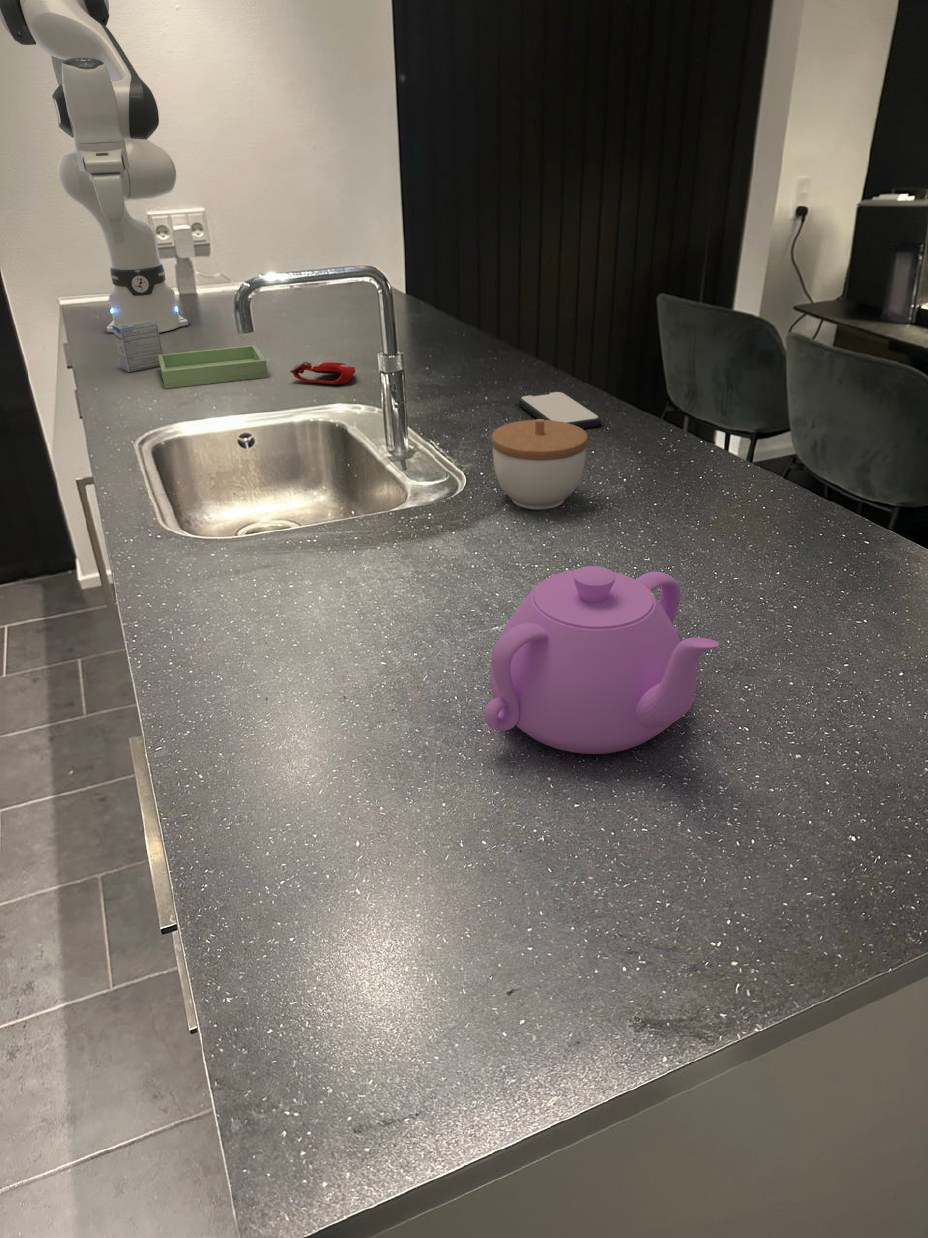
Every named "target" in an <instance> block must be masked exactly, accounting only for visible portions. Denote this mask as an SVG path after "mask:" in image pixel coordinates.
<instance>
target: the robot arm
mask: <svg viewBox="0 0 928 1238" xmlns="http://www.w3.org/2000/svg"><path fill="white" fill-rule="evenodd" d="M109 12H110V2H109V0H0V21H1V23H2V25H3V26H4V28H5V30H6V32H7V33H9V35H10V36H11V37H12V38H13V40H14V41H15V42H17V44H19V45H21V46H36V45H38V47H40V48H41V49H42V51H44V52H45V53H47V54H48V55H50V59H51V64H52V68H53V72H54V75H55V79H56V81H57V82H56V83H57V85H58V86H57V87H56V88H55V90H54V92H53V94H52V95H51V97H52V101H53V104H54V107H55V110H56V116H57V121H58V122H57V123H58V128H60V130H62V131H63V132H64V133H65V134H66V135H68V136H69V137H70V138H72V139H73V143H74V148H75V150H71V151H68V152H65V153H63V154H62V156H61V157H60V158H59V162H58V166H57V178H58V181H59V184H60V186H61V188H62V190H63V191H64V193H65V194H66V195H67V196H68V197H69V198H70V200H72V201H74V202H76V203H77V204H79V205H80V206H81V207H83V208H84V209H85V210H86V211H87V212H88V213H90V215H91V216H92V217H93V219H94V220H95V221H96V223H97V225H98V227H99V229H100V230H101V233H102V235H103V238H104V242H105V245H106V249H107V253H108V257H109V262H110V269H109V270H110V271H109V272H110V279H111V283H112V284H113V285H114V286H113V289H112V291H111V292H110V293H109V295H108V304H109V308H110V310H109V311H110V314H111V317H112V321H111V322H110V323H109V324H108V325H107V327H106V332H107V333H113V328H112V327H113V326H116V325H121V324H127V323H133V322H139V321H145V320H149V321H152V322H154V323H156V324H158V329H159V333H163V332H168V331H173V330H175V329H178V328H181V327H185V326H189V321H188V319H186V318H184V317H183V316H181V315H180V313H179V307H178V304H177V299H176V293H175V290H174V289H172V287H171V286H169V285H168V284H167V282H166V271H165V269H164V265H163V264H162V262H161V258H160V252H159V246H158V241H157V235H156V232H155V230H154V229H153V227H152V226H151V225H150V224H149V223H147V222H146V221H144V220H142V219H140V218H137V217H135V216H133V215H131V214H130V212H129V211H128V209H127V206H126V202H131V201H132V202H133V201H143V200H153V199H157V198H159V197H162V196H165V195H168V194H170V193H172V192H173V190H174V189H175V187H176V184H177V183H176V182H177V169H176V166H175V163H174V161H173V158H172V157H171V156H170V154H169V153H168V152H167V151H166V150H165V149H164V148H162V147H160V146H158V145H156V144H155V143H153V142H152V141H151V140H149V138H150V137H152V135H153V134H154V132H155V131H156V130H157V129H158V127H159V125H160V116H159V115H160V114H159V108H158V107H159V106H158V104H157V100H156V98H155V96H154V93H153V92H152V90H151V88H150V87H149V86H148V85H147V84H146V83H145V82H144V81H143V79H142V78H141V77H140V76H139V74H138V73H137V70H136V69H135V68H134V66H133V65H132V62H131V61H130V60H129V58H128V57H127V55H126V53H125V52H124V50H123V49H122V47H121V45H120V44H119V42H118V41H117V39H116V38H115V36H114V34H113V33H112V32H111V31H110V29H109V28H108V27H107V25H108V22H109V19H110V13H109Z"/></svg>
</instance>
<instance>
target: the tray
mask: <svg viewBox="0 0 928 1238" xmlns="http://www.w3.org/2000/svg"><path fill="white" fill-rule="evenodd" d="M158 359H159V365H160V366H159V370H160V374H161V378H162V381H163V385H164V389H173V388H175V389H176V388H182V387H192V386H202V385H209V384H210V385H211V384H218V383H219V384H220V383H229V382H236V381H245V380H255V379H263V378H269V377H268V376H269V375H268V369H267V368H268V367H267V361H266V359H265V357H264V356H263V354H262V353H261V351H260V350H259V349H258V346H257V345H255V344H252V345H243V346H232V347H223V348H222V347H221V348H212V349H201V350H193V351H191V350H190V351H182V352H173V353H163V354H161V355H158Z"/></svg>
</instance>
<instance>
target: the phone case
mask: <svg viewBox="0 0 928 1238" xmlns="http://www.w3.org/2000/svg"><path fill="white" fill-rule="evenodd" d="M518 405H519V406H520V407H521V408H522V409H524V410H525V411H526V412H528V413H529V414H530V415H532V416H533V417H535V418H536V419H543V420H552V421H560V422H565V423H569V424H573V425H575V426H578V427H580V428H582V429H583V430H584V429H589V428H595V427H599V426H600V425H601V417H600V416H599V415H598V414H596V413H595V412H593V411H592V410H590V409H589V408H587V407H586V406H584V405H583V404H581V403H580V402H578V401H576V400H575V399H574V398H572V397H571V396H569V395H567V394H566V393H565V392H562V391H551V392H545V393H537V394H530V395H522V396H520V397H519V398H518Z"/></svg>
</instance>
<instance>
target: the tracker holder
mask: <svg viewBox="0 0 928 1238" xmlns="http://www.w3.org/2000/svg"><path fill="white" fill-rule="evenodd" d="M305 371H309V372H313V373H316V374H324V375H339V377H338V378H337V379H335V380H320V379H310V378H306V377H303V376H301V375H300V374H304V373H305ZM289 373H290V374H292V375H293V377H294V378H296V379H297V380H300V381H303V382H306V383H314V384H325V385H345V384H347V383H349V382H350V381H351V379H352V378H353V376H354V374H355V373H356V367H354V366H349V365H348V364H346V363H344V362H339V361H326V362H322V363H320V364H319V365H314V366H312V362H311V361H307V360H304V361H302V362H300V363H298V364H296V365H295V366H294V367H292V368H291V369H290V370H289Z"/></svg>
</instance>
